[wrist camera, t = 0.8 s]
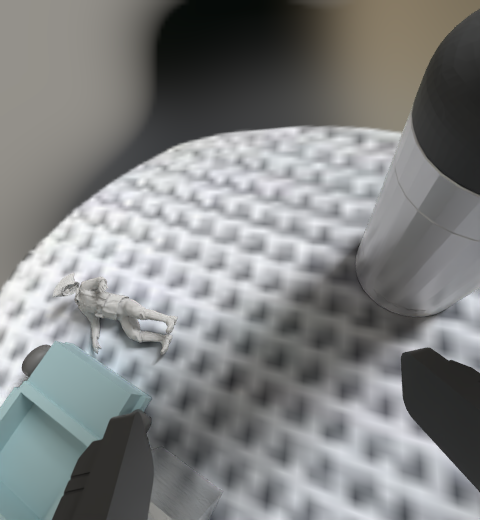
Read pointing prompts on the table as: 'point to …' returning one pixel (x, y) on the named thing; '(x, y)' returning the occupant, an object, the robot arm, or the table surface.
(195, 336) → the table surface
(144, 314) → the soldier figure
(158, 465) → the knobbed metal block
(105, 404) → the chassis
